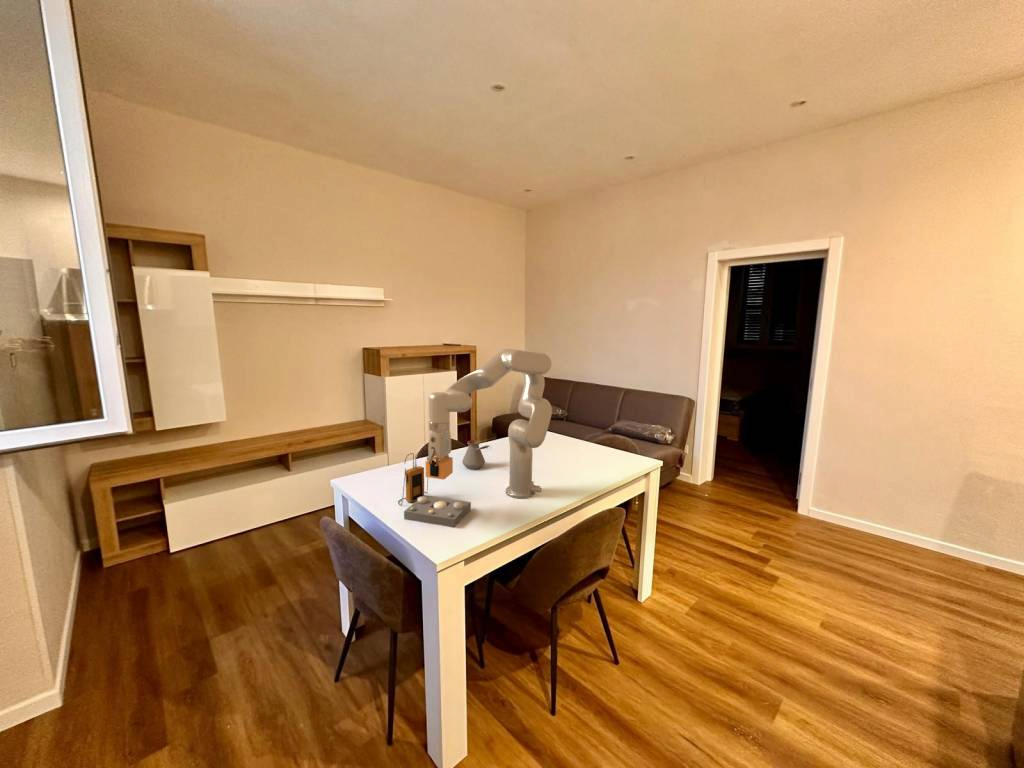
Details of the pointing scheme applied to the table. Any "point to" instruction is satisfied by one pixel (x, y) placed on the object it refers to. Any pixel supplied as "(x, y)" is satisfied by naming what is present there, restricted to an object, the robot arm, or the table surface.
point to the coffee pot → (474, 455)
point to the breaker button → (440, 505)
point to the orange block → (441, 468)
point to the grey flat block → (437, 511)
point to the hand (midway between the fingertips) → (439, 472)
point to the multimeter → (414, 482)
